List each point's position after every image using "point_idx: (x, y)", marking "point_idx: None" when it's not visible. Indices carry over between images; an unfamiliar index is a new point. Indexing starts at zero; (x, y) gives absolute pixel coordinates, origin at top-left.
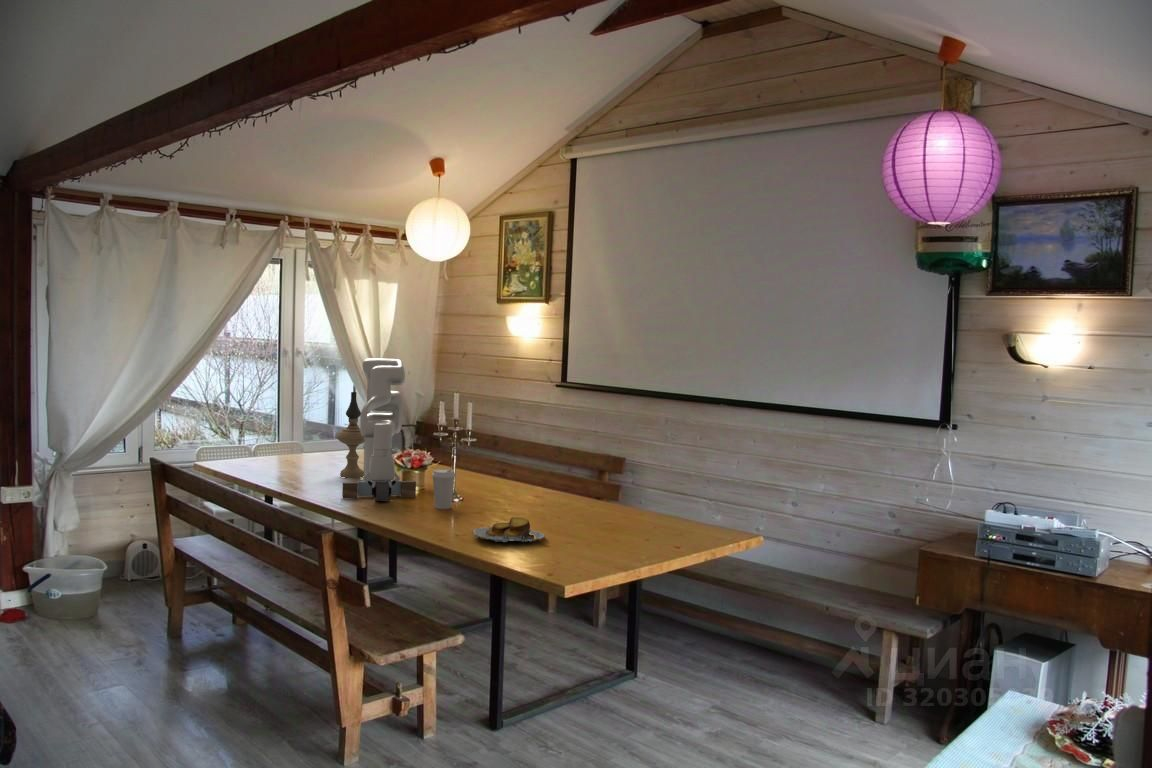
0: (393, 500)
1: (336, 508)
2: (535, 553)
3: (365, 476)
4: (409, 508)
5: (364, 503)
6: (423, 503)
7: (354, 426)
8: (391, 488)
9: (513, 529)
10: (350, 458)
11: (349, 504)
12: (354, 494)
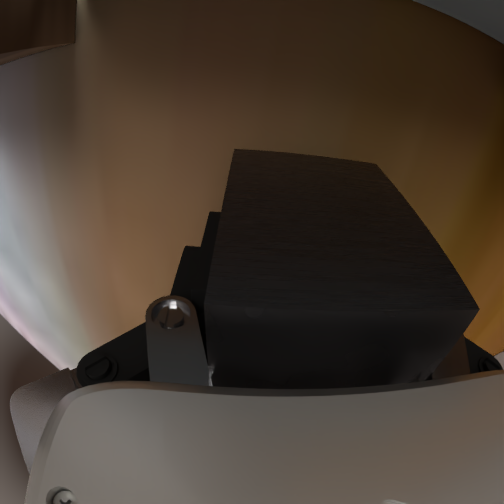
0: (411, 193)
1: (27, 328)
2: None
3: (34, 455)
4: None
5: (140, 256)
6: (498, 309)
7: None
8: (500, 19)
9: None
10: None
11: (49, 265)
12: (25, 53)
